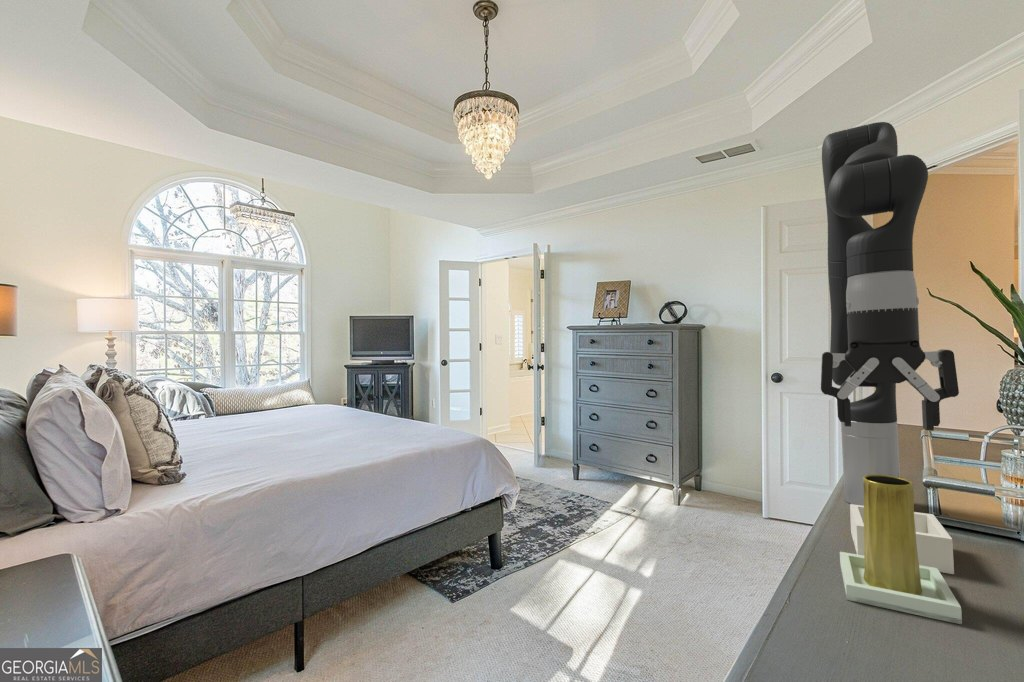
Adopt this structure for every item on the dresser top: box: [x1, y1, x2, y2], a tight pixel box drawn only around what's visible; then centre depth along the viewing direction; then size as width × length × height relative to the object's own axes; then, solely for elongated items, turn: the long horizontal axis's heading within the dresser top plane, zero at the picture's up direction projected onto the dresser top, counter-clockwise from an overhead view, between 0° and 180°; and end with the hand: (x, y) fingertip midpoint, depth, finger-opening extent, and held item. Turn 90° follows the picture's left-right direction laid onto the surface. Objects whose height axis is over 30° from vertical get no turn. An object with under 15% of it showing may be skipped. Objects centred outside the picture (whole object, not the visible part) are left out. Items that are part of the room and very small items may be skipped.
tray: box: [839, 551, 963, 625], centre depth 61 cm, size 11×11×2 cm
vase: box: [863, 474, 922, 595], centre depth 62 cm, size 6×6×14 cm
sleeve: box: [849, 503, 955, 575], centre depth 73 cm, size 11×11×5 cm
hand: (886, 427), depth 62 cm, fingers open, 8 cm apart
